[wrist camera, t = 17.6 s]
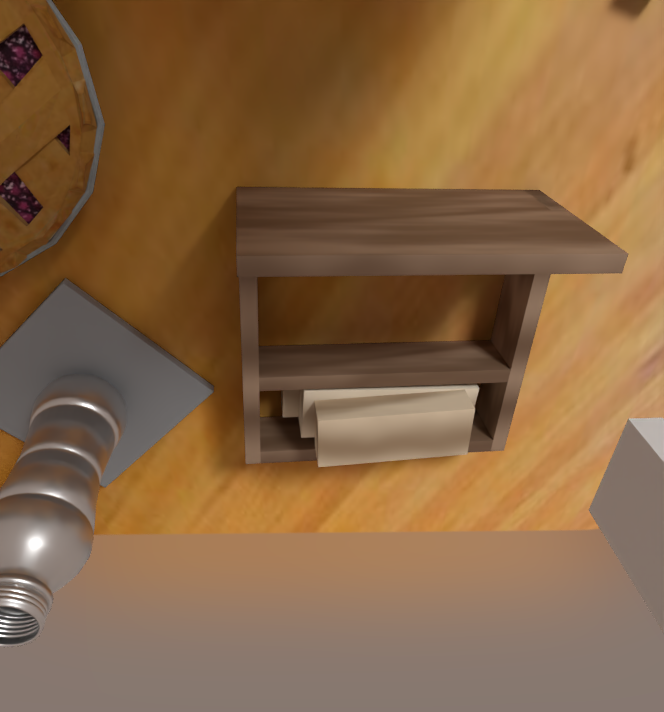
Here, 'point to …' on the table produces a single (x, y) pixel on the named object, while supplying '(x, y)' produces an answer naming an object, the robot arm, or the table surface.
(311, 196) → the walnut rack
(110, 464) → the grey mat
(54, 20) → the pie
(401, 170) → the table surface
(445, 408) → the offcut top
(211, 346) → the table surface
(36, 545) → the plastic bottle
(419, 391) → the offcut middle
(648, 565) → the robot arm
